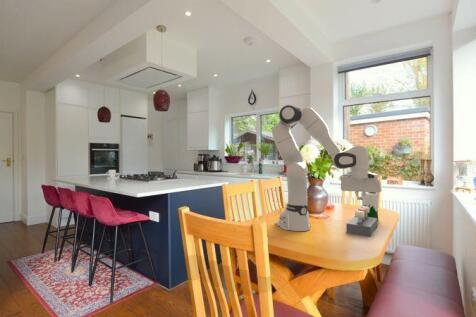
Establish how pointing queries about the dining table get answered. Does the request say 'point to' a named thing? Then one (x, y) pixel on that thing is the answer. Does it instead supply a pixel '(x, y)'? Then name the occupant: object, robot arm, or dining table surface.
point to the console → (362, 226)
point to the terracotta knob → (363, 211)
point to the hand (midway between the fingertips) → (360, 199)
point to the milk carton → (371, 203)
